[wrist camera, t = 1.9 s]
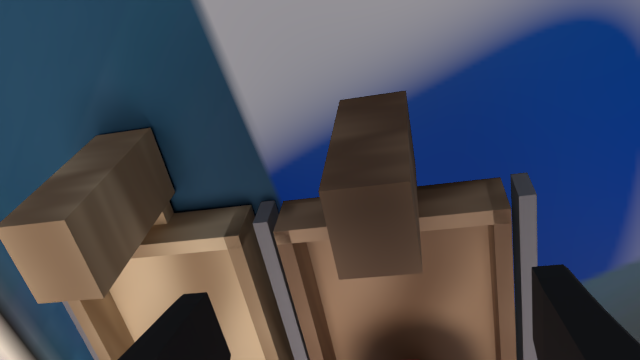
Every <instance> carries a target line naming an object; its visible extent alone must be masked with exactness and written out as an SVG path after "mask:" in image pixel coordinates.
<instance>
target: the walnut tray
mask: <svg viewBox="0 0 640 360" xmlns="http://www.w3.org/2000/svg"><path fill="white" fill-rule="evenodd" d="M319 196H320V197H317V198H307V199H298V200H289V201H283V204H282V207H281V210H280V213H279V216H278V219H277V222H276V225H275V228H274V231H273V233H274V237H275V240H276V244H277V247H278V251H279V254H280V258H281V261H282V264H283V268H284V271H285V275H286V278H287V282H288V285H289V289H290V292H291V295H292V299H293V302H294V306H295V309H296V313H297V316H298V320H299V323H300V327H301V330H302V333H303V337H304V340H305V344H306V347H307V351H308V354H309V358H310V360H406V359H420V360H517V358H516V331H515V303H514V279H513V277H514V276H513V249H512V222H511V207H510V205H509V201H508V199H507V195H506V192H505V189H504V187H503V184H502V181H501V178H500V177H499V178H490V179H481V180H472V181H463V182H454V183H445V184H435V185H426V186H417V182H416V168H415V159H414V151H413V143H412V136H411V128H410V120H409V113H408V104H407V97H406V91H400V92H394V93H386V94H379V95H372V96H365V97H359V98H352V99H345V100H340V102H339V106H338V110H337V115H336V119H335V123H334V128H333V132H332V136H331V140H330V145H329V149H328V153H327V157H326V162H325V166H324V170H323V175H322V179H321V183H320V187H319Z"/></svg>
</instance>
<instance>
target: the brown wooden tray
mask: <svg viewBox="0 0 640 360" xmlns="http://www.w3.org/2000/svg"><path fill="white" fill-rule="evenodd" d="M536 196H537V194H536V192H535V190H534V187H533V185H532V183H531V181H530V178H529V176H528V173H519V174H511V199H512V227H513V255H514V283H515V310H516V338H517V360H537V355H536V351H535V347H534V342H533V328H532V267H537V197H536ZM278 216H279V214H278V210H277V206H276V203H275V200H274V201H265V202H261V203H260V206H259V208H258V211H257V213H256V216H255V218H254V221H253V227H254V230H255V233H256V237H257V240H258V243H259V246H260V250H261V253H262V256H263V259H264V262H265V266H266V269H267V272H268V275H269V279H270V282H271V285H272V288H273V292H274V295H275V298H276V301H277V305H278V308H279V311H280V314H281V318H282V321H283V324H284V327H285V330H286V334H287V337H288V340H289V343H290V347H291V350H292V353H293V356H294V360H310V358H309V354H308V351H307V347H306V344H305V340H304V337H303V333H302V330H301V327H300V323H299V320H298V316H297V313H296V309H295V306H294V302H293V299H292V295H291V292H290V289H289V285H288V282H287V278H286V275H285V271H284V268H283V264H282V261H281V258H280V254H279V251H278V247H277V244H276V240H275V237H274V233H273V231H274V228H275V225H276V222H277V219H278ZM63 304H64V306H65V308H66V309H67V311H68V313H69V315H70V317H71V318H72V320H73V322H74V324H75V326H76V328H77V329H78V331H79V333H80V335H81V337H82V338H83V340H84V342H85V344H86V346H87V347H88V349H89V351H90V353H91V355H92V356H93V358H94V360H99V358H98V356H97V354H96V353H95V351H94V349H93V347H92V345H91V343H90V342H89V340H88V338H87V336H86V334H85V332H84V331H83V329H82V327H81V325H80V323H79V322H78V320H77V318H76V316H75V314H74V312H73V311H72V309H71V307H70V305H69V303H68V301H64V302H63Z"/></svg>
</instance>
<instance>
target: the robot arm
mask: <svg viewBox="0 0 640 360" xmlns="http://www.w3.org/2000/svg"><path fill="white" fill-rule="evenodd" d="M532 328H533V342H534V347H535V351H536V355H537V360H640V344H639V343H638V342H637V341H636V340H635V339H634V338H633V337H632V336H631V335H630V334H629V333H628V332H627V331H626V330H625V329H624V328H623V327H622V326H621V325H620V324H619V323H618V322H617V321H616V320H615V319H614V318H613V317H612V316H611V315H610V314H609V313H608V312H607V311H606V310H605V309H604V308H603V307H602V306H601V305H600V304H599V303H598V301H597V300H596V299H595V298H594V297H593V296H592V295H591V294H590V293H589V292H588V291H587V290H586V288H585V287H584V286H583V285H582V284H581V283H580V282H579V281H578V279H577V278H576V277H575V276H574V275H573V274H572V272H571V271H570V270H569V269H568V268H567V267H565V266H564V265H550V266H537V267H532ZM230 359H231V353H230V350H229V348H228V345H227V343H226V340H225V337H224V335H223V332H222V330H221V327H220V324H219V322H218V319H217V317H216V314H215V311H214V309H213V306H212V304H211V301H210V298H209V296H208V293H207V292H202V293H190V294H183V295H182V296H180V297H179V298H178V299H177V300H176V301H175V302H174V303H173V304H172V305H171V306H170V307H169V308H168V309H167V310H166V311H165V312H164V313H163V314H162V315H161V316H160V317H159V318H158V319H157V320H156V321H155V322H154V323H153V324H152V325H151V326H150V327H149V328H148V329H147V330H146V331H145V332H144V333H143V334H142V335H141V336H140V337H139V338H138V339H137V341H136V342H135V343H134V344H133V345H132V346H131V347H130V348H129V349H128V350H127V351H126V352H125V353H124V354H123V355H122V356H121V357H120V358H119V359H118V360H230Z"/></svg>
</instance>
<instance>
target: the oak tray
mask: <svg viewBox="0 0 640 360" xmlns="http://www.w3.org/2000/svg"><path fill="white" fill-rule="evenodd" d="M174 193H175V191H174V188H173V186H172V183H171V180H170V178H169V175H168V172H167V170H166V167H165V165H164V162H163V159H162V157H161V154H160V151H159V149H158V146H157V143H156V141H155V138H154V135H153V133H152V130H151V128H146V129H139V130H132V131H125V132H118V133H111V134H104V135H97V136H95V137H94V138H93V139H92V140H91V141H90V142H89V143H88V144H87V145H85V146H84V147H83V148H82V149H81V150H80V151H79V152H78V153H77V154H75V155H74V156H73V157H72V158H71V159H70V160H69V161H68V162H67V163H65V164H64V165H63V166H62V167H61V168H60V169H59V170H58V171H57V172H56V173H54V174H53V175H52V176H51V177H50V178H49V179H48V180H47V181H46V182H44V183H43V184H42V185H41V186H40V187H39V188H38V189H37V190H36V191H35V192H33V193H32V194H31V195H30V196H29V197H28V198H27V199H26V200H25V201H23V202H22V203H21V204H20V205H19V206H18V207H17V208H16V209H15V210H14V211H12V212H11V213H10V214H9V215H8V216H7V217H6V218H5V219H4V220H2V221H1V222H0V239H1V241H2V243H3V244H4V246H5V248H6V249H7V251H8V253H9V255H10V256H11V258H12V260H13V261H14V263H15V265H16V267H17V268H18V270H19V272H20V273H21V275H22V277H23V279H24V280H25V282H26V284H27V285H28V287H29V289H30V291H31V292H32V294H33V296H34V297H35V299H36V301H37V303H51V302H64V301H68V303H69V305H70V307H71V309H72V311H73V312H74V314H75V316H76V318H77V320H78V322H79V323H80V325H81V327H82V329H83V331H84V332H85V334H86V336H87V338H88V340H89V342H90V343H91V345H92V347H93V349H94V351H95V353H96V354H97V356H98V358H99V360H118V359H119V358H120V357H121V356H122V355H123V354H124V353H125V352H126V351H127V350H128V349H129V348H130V347H131V346H132V345H133V344H134V343H135V342H136V341H137V339H138V338H139V337H140V336H141V335H142V334H143V333H144V332H145V331H146V330H147V329H148V328H149V327H150V326H151V325H152V324H153V323H154V322H155V321H156V320H157V319H158V318H159V317H160V316H161V315H162V314H163V313H164V312H165V311H166V310H167V309H168V308H169V307H170V306H171V305H172V304H173V303H174V302H175V301H176V300H177V299H178V298H179V297H180V296H182V295H183V294H190V293H202V292H207V293H208V296H209V298H210V301H211V304H212V306H213V309H214V311H215V314H216V317H217V319H218V322H219V324H220V327H221V330H222V332H223V335H224V337H225V340H226V343H227V345H228V348H229V350H230V353H231V359H230V360H294V356H293V353H292V350H291V347H290V343H289V340H288V337H287V334H286V330H285V327H284V324H283V321H282V318H281V314H280V311H279V308H278V305H277V301H276V298H275V295H274V292H273V288H272V285H271V282H270V279H269V275H268V272H267V269H266V266H265V262H264V259H263V256H262V253H261V250H260V246H259V243H258V240H257V237H256V233H255V230H254V227H253V221H254V218H255V216H254V212H253V209H252V206H251V205H245V206H236V207H227V208H218V209H209V210H199V211H190V212H181V213H174V212H173V209H172V207H171V204H170V202H169V201H170V199H171V198H172V196H173V195H174Z"/></svg>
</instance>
